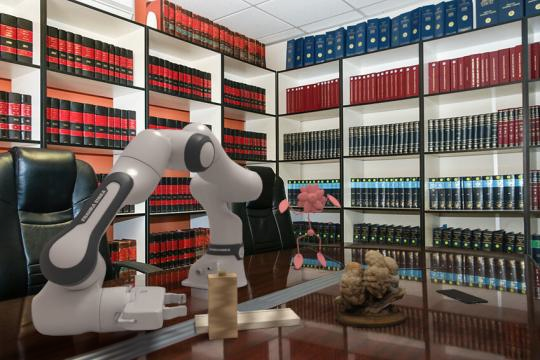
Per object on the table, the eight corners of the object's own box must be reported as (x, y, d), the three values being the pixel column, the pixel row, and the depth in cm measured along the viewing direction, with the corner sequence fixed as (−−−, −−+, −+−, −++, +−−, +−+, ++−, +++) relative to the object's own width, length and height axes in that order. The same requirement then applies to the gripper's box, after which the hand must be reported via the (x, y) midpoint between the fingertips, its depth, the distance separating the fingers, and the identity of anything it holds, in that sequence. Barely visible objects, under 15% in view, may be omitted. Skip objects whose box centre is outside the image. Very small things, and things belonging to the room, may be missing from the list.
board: (196, 333, 90) (196, 326, 91) (194, 321, 99) (194, 315, 99) (300, 324, 96) (300, 318, 96) (290, 314, 105) (289, 307, 105)
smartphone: (467, 302, 112) (434, 290, 127) (467, 305, 112) (434, 292, 127) (489, 300, 113) (454, 288, 128) (489, 304, 113) (454, 291, 128)
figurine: (276, 268, 169) (276, 183, 170) (334, 264, 176) (333, 183, 176) (287, 275, 154) (287, 183, 155) (350, 272, 161) (349, 183, 162)
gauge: (209, 339, 87) (209, 273, 87) (205, 322, 98) (205, 264, 99) (237, 337, 88) (237, 271, 88) (230, 320, 100) (230, 262, 100)
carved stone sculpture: (393, 310, 107) (392, 245, 108) (419, 325, 96) (418, 251, 96) (328, 315, 103) (328, 247, 104) (347, 331, 92) (347, 254, 92)
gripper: (110, 307, 75) (187, 301, 78) (124, 283, 95) (185, 279, 98) (110, 341, 75) (187, 335, 78) (124, 310, 95) (185, 306, 98)
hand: (186, 304), depth 88 cm, fingers open, 8 cm apart
